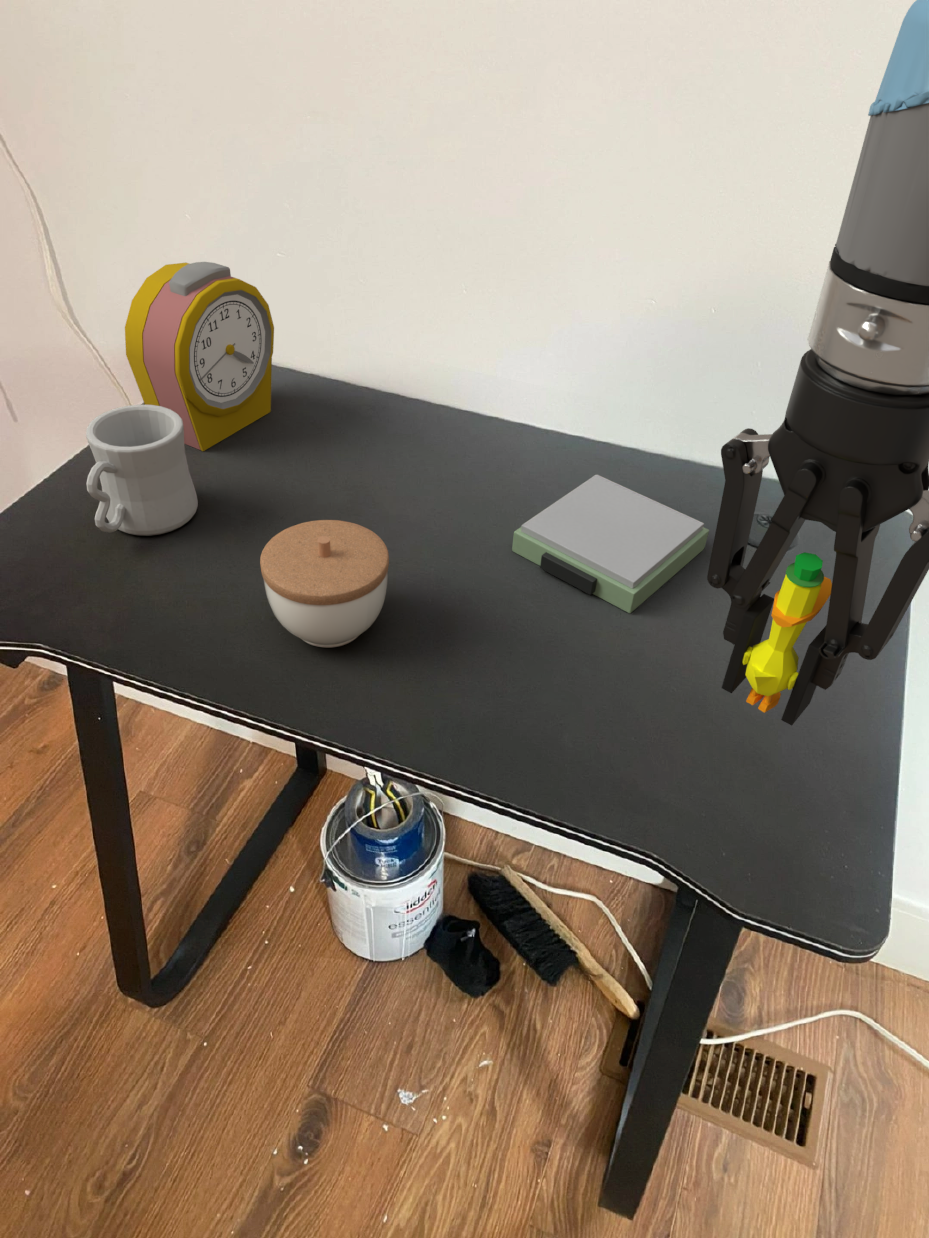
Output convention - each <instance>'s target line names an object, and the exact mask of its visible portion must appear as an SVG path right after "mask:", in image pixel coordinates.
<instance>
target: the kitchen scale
mask: <svg viewBox="0 0 929 1238" xmlns="http://www.w3.org/2000/svg"><path fill="white" fill-rule="evenodd" d="M704 526H705V522H702V521H700V520H698V519H696V518H694V517H691V516H689V515H687V514H685V513H682V512H681V511H678V510H676V509H674V508H671V507H670V506H667V505H665V504H663V503H661V502H658V501H657V500H655V499H652V498H649V497H647V496H645V495H643V494H641V493H639V492H636V491H634V490H633V489H630V488H628V487H626V486H624V485H621V484H619V483H617V482H615V481H612V480H610V479H608V478H607V477H603V476H601V475H600V474H595V475H593V476H592V477H590V478H588V479H587V480H586V481H585V482H582V483H581V484H580V485H578V486H577V487H576V488H574V489H572V490H571V491H570V492H568V493H567V494H565V495H564V496H562V497H560V498H559V499H557V500H556V501H554V502H553V503H552V504H550V505H549V506H548V507H546V508H544V509H543V510H541V511H539V513H537V514H536V515H534V516H533V517H531V518H530V519H529V520H527V521H526V522H524V523H522V524H521V526H520V527H519V528H517V529H516V530H515V531H514V532H513V536H512V537H513V538H512V548H511V552H512V553H515V554H517V555H518V556H520V557H522V558H525V559H526V560H527V561H530V562H532V563H534V564H535V565H537V566H539V568H540V570H542V571H545V572H547V573H549V574H550V575H552V576H554V577H556V578H558V579H560V580H561V581H563V582H565V583H567V584H569V585H571V586H572V587H574V588H577V589H579V590H580V591H582V592H584V593H586V594H588V595H590V596H592V595H594V596H596V597H597V598H599V599H601V600H604V601H606V602H607V603H609V604H611V605H613V606H615V607H617V608H619V609H620V610H622V611H624V612H626V613H628V614H632V613H633V612H634V611H635V610H636V609H638V607H640V606H641V605H642V604H643V603H644V602H645V601H646V600H648V599H649V598H650V597H651V596H652V595H654V593H656V592H657V591H658V590H659V589H660V588H661V587H662V586H664V585H665V584H666V583H667V582H668V581H669V580H671V579H672V578H673V577H674V576H675V575H676V574H677V573H679V572H680V571H681V570H682V569H683V568H684V567H685V566H687V565H688V564H689V563H690V562H691V561H692V560H693V559H694V558H695V557H697V556H698V555H699V554H701V552H703V551H704V550H705V547H706V545H707V541H708V537H709V533H710V529H708V528H706V527H704Z"/></svg>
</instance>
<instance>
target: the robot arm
mask: <svg viewBox="0 0 929 1238" xmlns="http://www.w3.org/2000/svg"><path fill="white" fill-rule="evenodd" d="M867 115H868V117H869V119H868V123H867V128H866V131H865V135H864V139H863V143H862V145H861V150H860V154H859V157H858V161H857V164H856V169H855V172H854V176H853V180H852V183H851V187H850V191H849V195H848V198H847V201H846V205H845V209H844V212H843V217H842V221H841V223H840V227H839V232H838V234H837V239H836V241H835V244H834V247H833V249H832V253H831V257H830V260H829V261H828V265H827V269H826V272H825V275H824V279H823V282H822V286H821V289H820V293H819V297H818V300H817V304H816V308H815V311H814V314H813V317H812V322H811V326H810V329H809V332H808V335H807V336H808V337H807V342H808V343H807V344H808V346H809V348H810V349H808V350H807V351H806V352H805V353H804V354H803V355H802V356H801V358H800V362H799V365H798V368H797V372H796V375H795V379H794V383H793V386H792V389H791V392H790V397H789V400H788V404H787V407H786V409H785V415H784V419H783V421H782V423H781V425H780V426H779V427H778V428H777V429H776V430H775V431H773V433H770V434H769V433H767V434H766V433H765V434H759V433H758V432H757V430H756V429H753V428H745V429H743V430H742V431H740V432H739V433H737V435H735V436H733V437H732V438H731V439H730V440H728V441H727V442H726V443H725V444H723V445H722V446H721V449H720V456H721V463H722V470H723V474H724V485H723V490H722V496H721V502H720V507H719V511H718V512H719V513H718V517H717V523H716V526H715V527H716V528H715V534H714V539H713V544H712V548H711V554H710V559H709V565H708V570H707V576H706V578H707V579H706V580H707V582H708V584H709V585H710V586H711V587H712V588H714V589H722V590H723V591H724V592H726V593H727V595H728V596H729V598H730V606H729V611H728V613H727V617H726V621H725V625H724V627H723V631H722V635H723V640H725V641H727V642H728V643H731V645H732V644H733V649H732V652H731V655H730V658H729V661H728V664H727V668H726V672H725V675H724V678H723V682H722V685H721V689H722V690H724V691H726V692H727V693H730V694H733V693H734V692H735V690H736V689H737V688H738V687H739V686H740V685H741V684H742V683H743V682H744V680H745V679H747V677H746V675H745V674H746V668H747V664H745V665H743V661H742V660H743V657H744V653H745V652H746V650H747V649H748V648H749V647H752V648H753V646H754V645H756V644H758V643H761V642H762V639H763V636H764V632H765V629H766V626H767V623H768V620H769V617H770V614H771V612H772V611H771V610H772V609H773V605H774V599H775V597H772V596H770V595H768V594H765V593H763V591H764V590H765V589H766V588H767V587H768V586H769V585H770V584H771V579H772V577H773V576H774V574H775V573H776V572H777V569H778V567H779V566H780V564H781V563H782V561H783V559H784V557H785V555H787V552H788V551H789V549H790V547H791V546H792V544H793V542H794V540H795V539H796V537H797V535H798V534H799V532H800V530H801V528H802V527H803V525H804V523H805V522H806V521H811V522H817V523H820V524H823V525H824V526H825V527H827V528H829V529H830V530H831V531H833V532H835V534H834V535H835V536H834V543H833V544H834V545H833V551H834V552H835V560H834V566H833V567H834V568H833V575H832V580H831V582H832V588H831V595H830V596H829V602H828V603H829V604H828V609H827V610H828V611H827V616H826V617H827V618H826V625H824V627H823V628H822V630H821V631H820V632H818V634H817V635H816V636H815V637H814V638H813V639H812V641H811V642H810V643H809V644H808V647H807V648H806V652H805V655H804V657H803V660H802V662H801V665H800V668H799V671H798V676H797V679H796V681H795V684H794V687H793V688H792V689H791V692H790V695H789V698H788V700H787V702H786V706H785V708H784V711H783V714H782V717H781V718H780V721H782V722H784V723H786V724H788V725H789V726H791V727H792V726H793V725H795V723H796V721H797V720H798V719H799V718H800V716H801V715H802V714H803V712H805V710H806V709H807V708H808V706H809V705H810V704H811V702H812V699H813V696H814V695H815V692H816V689H817V687H818V688H821V689H823V690H825V691H826V690H828V689H829V688H830V687H831V686H832V685H833V684H834V683H835V682H836V680H837V679H838V677H839V676H840V675H841V673H842V671H843V668H844V666H845V663H846V661H847V659H848V657H849V655H850V653H855V654H858V655H859V656H860V658H862V659H863V660H867V661H871V660H875V659H876V658H878V656H879V655H880V653H881V652H882V651H883V649H884V648H885V647H886V646H887V644H888V643H889V641H891V639H892V638H893V636H894V634H895V633H896V631H897V629H898V627H899V626H900V624H901V621H902V620H903V618H904V616H905V614H906V613H907V610H908V609H909V607H910V605H911V603H912V602H913V599H914V597H915V596H916V594H917V592H918V590H919V588H920V587H921V585H922V583H923V581H924V580H925V578H926V576H927V574H928V572H929V0H915V1H913V2H912V4H911V5H910V7H909V8H908V10H907V11H906V13H905V15H904V17H903V19H902V22H901V25H900V28H899V31H898V34H897V37H896V39H895V42H894V45H893V48H892V51H891V54H890V56H889V59H888V62H887V65H886V68H885V71H884V74H883V77H882V79H881V83H880V85H879V88H878V91H877V94H876V96H875V100H874V101H873V102H872V103H871V104H870V106H869V109H868V114H867ZM770 461H771V464H772V466H773V468H774V472H775V474H776V477H777V479H778V480H777V481H778V483H779V485H780V487H781V490H782V493H783V497H782V499H781V500H780V503H779V504H778V506H777V508H776V510H775V512H774V513H773V515H772V517H771V520H770V521H771V522H770V524H769V526H768V528H767V529H766V532H765V533H764V535H763V537H762V539H761V540H760V542H759V543H758V546H757V547H756V549H755V551H754V553H753V555H752V556H751V558H750V560H749V562H748V564H747V566H746V567H744V562H745V557H746V554H747V548H748V544H749V540H750V534H751V530H752V526H753V520H754V517H755V511H756V507H757V502H758V497H759V494H760V487H761V485H762V479H763V473H764V469H765V468H766V467H768V465H769V462H770ZM907 511H910V512H911V514H912V517H913V518H912V519H913V520H912V522H911V524H910V525H909V527H908V533H909V537H910V539H911V541H913V543H912V545H911V546H910V547H908V548H909V549H907V551H906V552H905V553H904V555H903V556H902V558H901V560H900V561H899V563H898V566H897V568H896V569H895V572H894V573H893V575H892V577H891V578H890V581H889V583H888V585H887V586H886V589H885V591H884V593H883V595H882V597H881V599H880V600H879V603H878V605H877V607H876V609H875V610H874V613H873V614H872V616H871V618H870V620H869V622H868V623H862V620H863V615H864V609H865V604H866V597H867V590H868V584H869V578H870V571H871V566H872V561H873V553H874V547H875V541H876V538H877V535H878V534H879V531H880V527H881V525H882V524H884V523H886V522H888V521H889V520H891V519H893V518H895V517H897V516H899V515H900V514H902V513H904V512H907Z"/></svg>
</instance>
